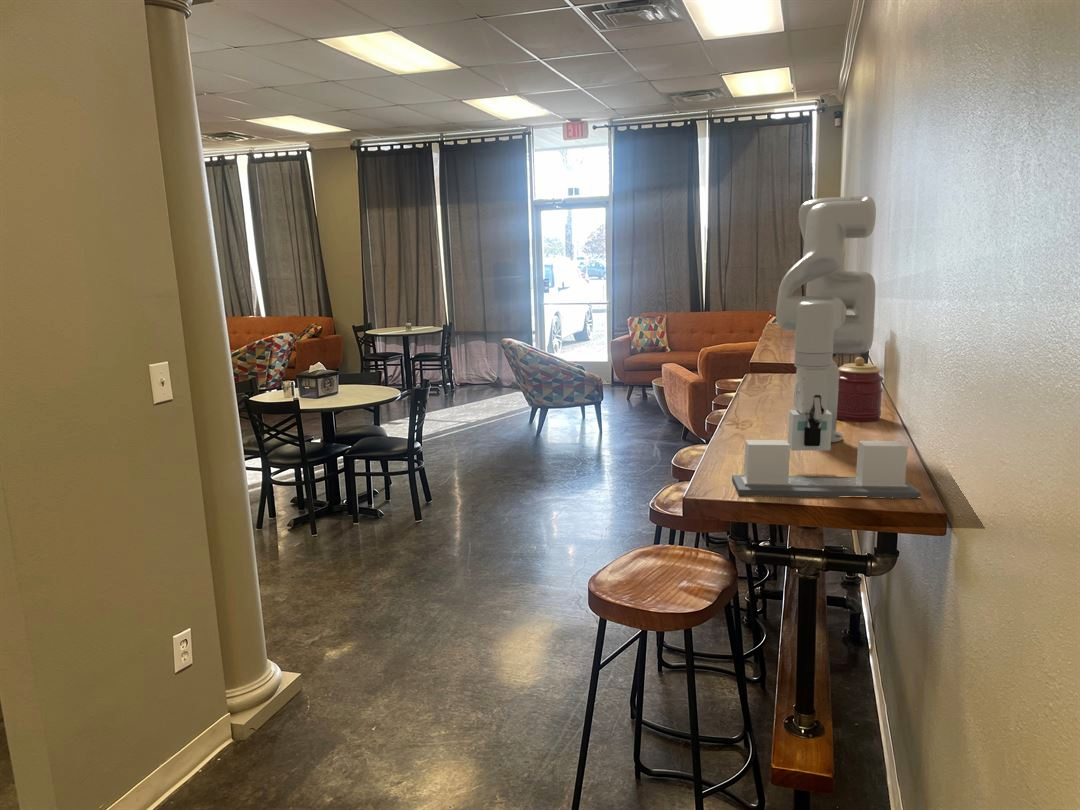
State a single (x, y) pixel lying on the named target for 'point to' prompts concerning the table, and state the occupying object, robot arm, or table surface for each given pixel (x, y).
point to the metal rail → (823, 483)
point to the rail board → (822, 490)
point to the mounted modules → (873, 468)
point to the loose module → (798, 428)
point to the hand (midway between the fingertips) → (809, 441)
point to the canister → (859, 392)
